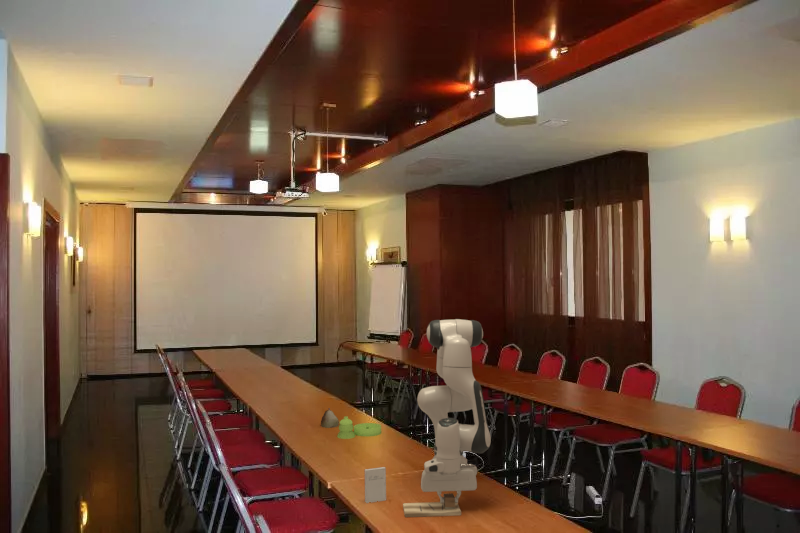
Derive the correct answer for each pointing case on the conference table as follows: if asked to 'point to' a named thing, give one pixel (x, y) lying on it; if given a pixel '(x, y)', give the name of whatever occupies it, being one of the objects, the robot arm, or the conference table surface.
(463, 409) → the robot arm
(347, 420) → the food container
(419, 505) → the board
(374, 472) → the hard drive
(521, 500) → the conference table surface
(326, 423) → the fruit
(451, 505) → the block
